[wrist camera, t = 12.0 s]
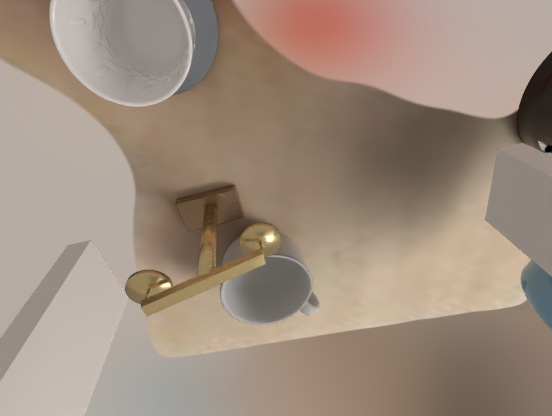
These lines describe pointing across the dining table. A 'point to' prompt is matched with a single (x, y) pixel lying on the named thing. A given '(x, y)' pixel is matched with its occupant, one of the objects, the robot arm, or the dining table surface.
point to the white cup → (125, 46)
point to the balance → (205, 251)
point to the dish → (201, 41)
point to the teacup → (269, 287)
